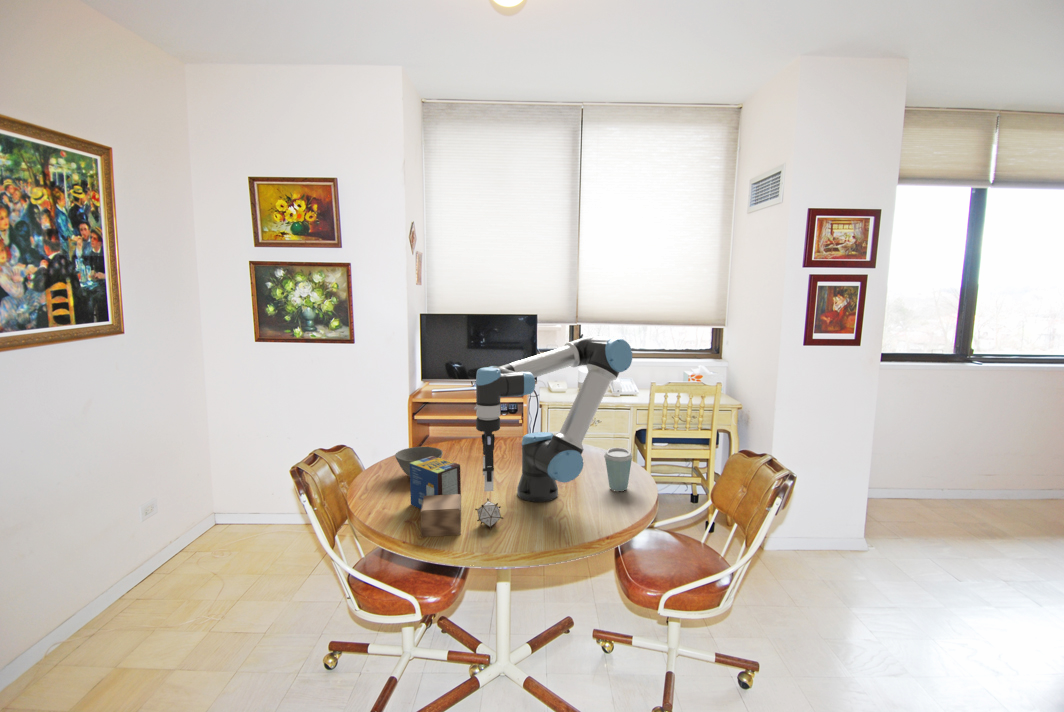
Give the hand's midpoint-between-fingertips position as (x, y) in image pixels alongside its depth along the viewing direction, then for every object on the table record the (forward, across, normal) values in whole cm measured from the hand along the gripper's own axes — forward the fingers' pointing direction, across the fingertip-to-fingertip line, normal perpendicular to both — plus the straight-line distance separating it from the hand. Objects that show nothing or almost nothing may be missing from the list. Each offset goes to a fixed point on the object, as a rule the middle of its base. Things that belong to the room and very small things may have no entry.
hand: (488, 482), depth 157 cm
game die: (+15, 0, 0) cm, 15 cm away
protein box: (+15, -17, -18) cm, 29 cm away
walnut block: (+14, -1, -15) cm, 21 cm away
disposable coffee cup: (+14, -24, +50) cm, 58 cm away
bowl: (+15, -46, -26) cm, 55 cm away
